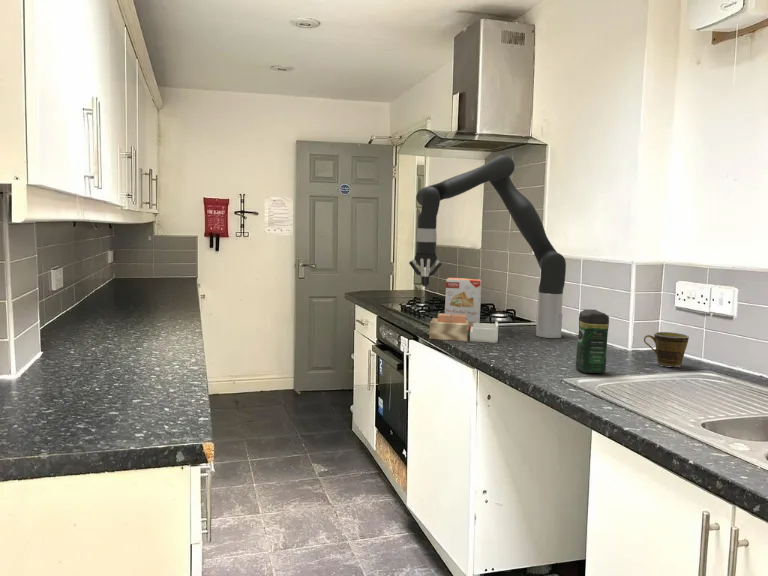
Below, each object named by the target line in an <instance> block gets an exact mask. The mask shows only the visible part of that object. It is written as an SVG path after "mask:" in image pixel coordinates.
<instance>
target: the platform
mask: <svg viewBox="0 0 768 576" xmlns="http://www.w3.org/2000/svg"><path fill="white" fill-rule="evenodd" d="M437 321H438V317H432V318H431V321H430V322H429V340H444V341H445V340H446V341H460V342H468V340H469V339H468V338H469V331H468V327H469V320H466V323H452V320H451V323H450V322H437Z"/></svg>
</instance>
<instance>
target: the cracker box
mask: <svg viewBox="0 0 768 576" xmlns="http://www.w3.org/2000/svg"><path fill="white" fill-rule="evenodd" d="M445 281H446V283H445V302H444V314H452V316H453V314H460V315H466V320H469V327H468V332H470V331H471V327H473V323H481V322H480V320H481V319H480V317H481V303H482V302H481V300H482V281H483V280H482V279H475V278H463V277H462V278H461V277H447V278H446V279H445Z"/></svg>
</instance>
